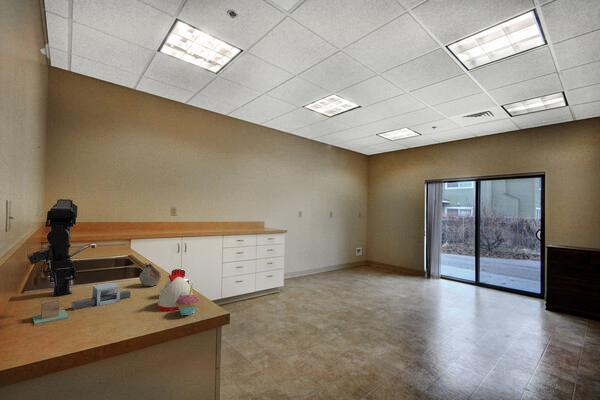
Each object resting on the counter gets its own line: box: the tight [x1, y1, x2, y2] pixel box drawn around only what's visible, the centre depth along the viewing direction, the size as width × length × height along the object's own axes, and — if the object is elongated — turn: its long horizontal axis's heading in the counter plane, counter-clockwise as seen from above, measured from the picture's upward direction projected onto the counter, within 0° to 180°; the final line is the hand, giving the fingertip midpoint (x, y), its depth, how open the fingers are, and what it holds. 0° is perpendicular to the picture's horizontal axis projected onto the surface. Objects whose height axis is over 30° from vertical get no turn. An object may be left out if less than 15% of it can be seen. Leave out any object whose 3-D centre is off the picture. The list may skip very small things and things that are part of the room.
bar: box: [70, 290, 132, 311], centre depth 118 cm, size 3×20×3 cm, turn 144°
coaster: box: [31, 309, 70, 326], centre depth 101 cm, size 9×9×1 cm
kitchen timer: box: [156, 268, 194, 312], centre depth 118 cm, size 14×14×15 cm
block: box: [40, 299, 60, 319], centre depth 101 cm, size 4×4×5 cm
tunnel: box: [91, 282, 121, 307], centre depth 119 cm, size 8×8×7 cm
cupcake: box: [175, 283, 200, 316], centre depth 109 cm, size 9×8×12 cm
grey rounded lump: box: [138, 262, 162, 287], centre depth 145 cm, size 10×9×12 cm
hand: (57, 283), depth 103 cm, fingers open, 9 cm apart
